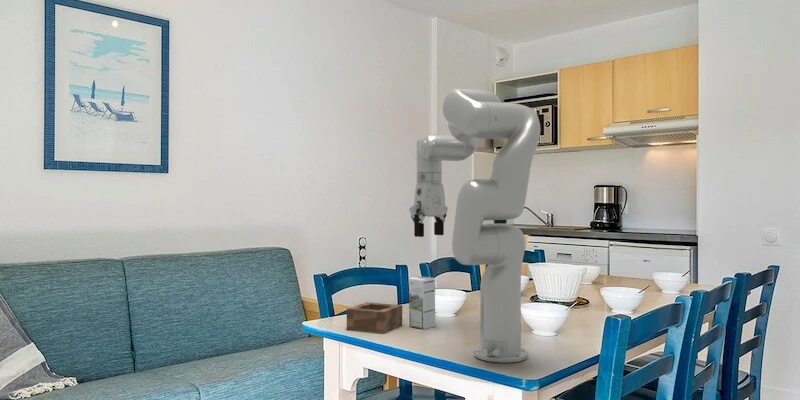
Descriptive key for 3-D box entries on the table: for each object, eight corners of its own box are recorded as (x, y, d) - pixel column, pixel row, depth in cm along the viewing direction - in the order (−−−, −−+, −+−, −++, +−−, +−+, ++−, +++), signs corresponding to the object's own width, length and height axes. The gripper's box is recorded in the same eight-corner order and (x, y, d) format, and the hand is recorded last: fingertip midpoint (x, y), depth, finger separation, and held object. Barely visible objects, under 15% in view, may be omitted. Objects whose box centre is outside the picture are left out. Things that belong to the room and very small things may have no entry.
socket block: (383, 333, 166) (383, 312, 166) (346, 329, 171) (346, 308, 171) (402, 325, 177) (402, 305, 177) (366, 321, 182) (366, 302, 182)
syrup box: (436, 326, 175) (436, 277, 175) (422, 329, 171) (422, 279, 171) (421, 323, 179) (421, 275, 179) (408, 326, 175) (408, 277, 175)
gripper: (421, 178, 170) (421, 237, 170) (456, 179, 183) (456, 234, 183) (401, 178, 175) (401, 236, 175) (436, 179, 188) (436, 234, 188)
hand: (429, 235), depth 179 cm, fingers open, 9 cm apart
